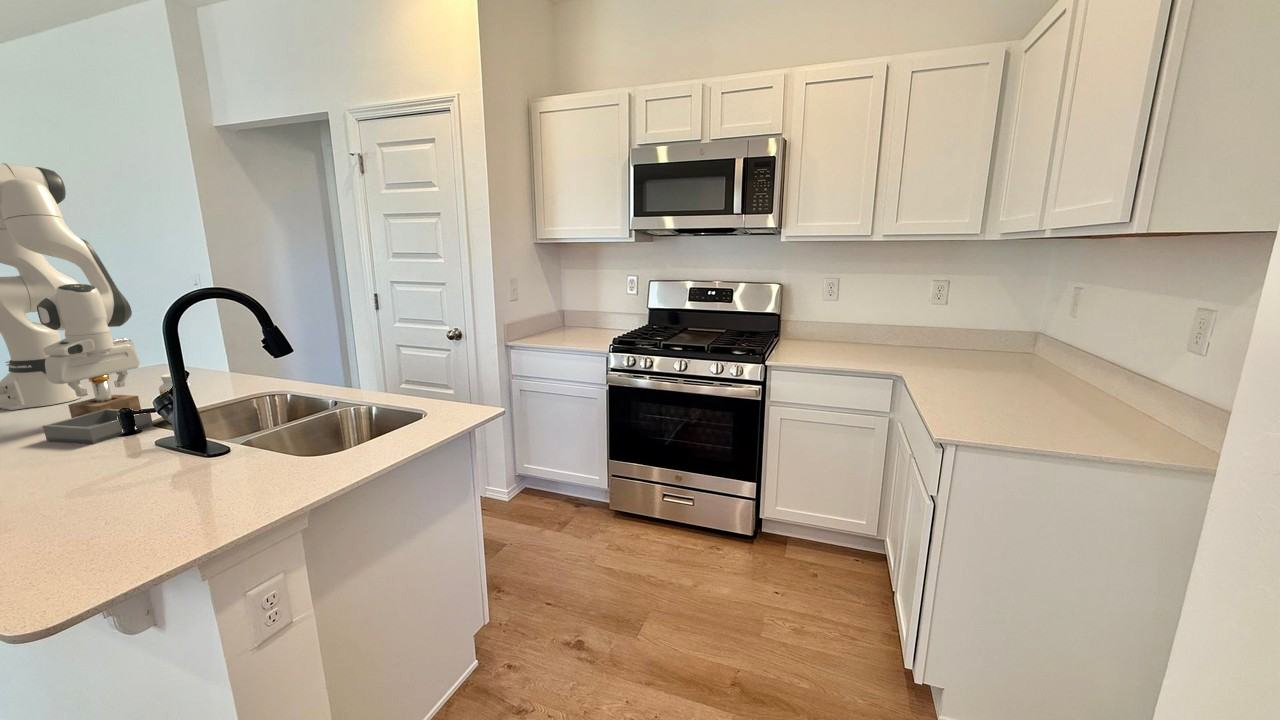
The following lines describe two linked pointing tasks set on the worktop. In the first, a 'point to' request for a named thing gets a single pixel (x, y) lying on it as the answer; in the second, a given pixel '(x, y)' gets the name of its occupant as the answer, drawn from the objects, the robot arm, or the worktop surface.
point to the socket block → (104, 405)
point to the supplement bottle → (167, 384)
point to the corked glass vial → (101, 388)
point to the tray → (92, 427)
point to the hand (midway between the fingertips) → (102, 391)
